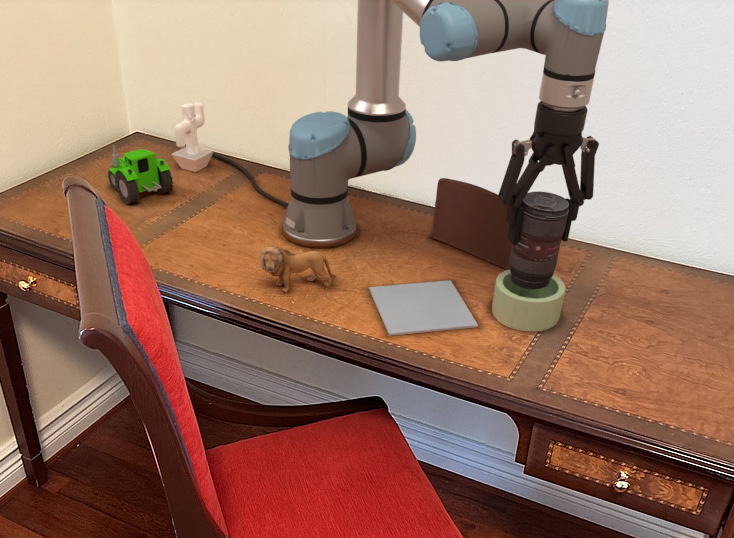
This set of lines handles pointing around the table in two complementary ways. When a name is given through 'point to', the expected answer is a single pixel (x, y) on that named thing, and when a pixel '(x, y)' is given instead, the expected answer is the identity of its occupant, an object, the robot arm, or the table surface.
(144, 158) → the toy tractor
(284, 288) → the lion figurine
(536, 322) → the bowl
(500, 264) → the letter holder
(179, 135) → the figurine
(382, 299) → the mat
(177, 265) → the table surface
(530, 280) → the camera lens
